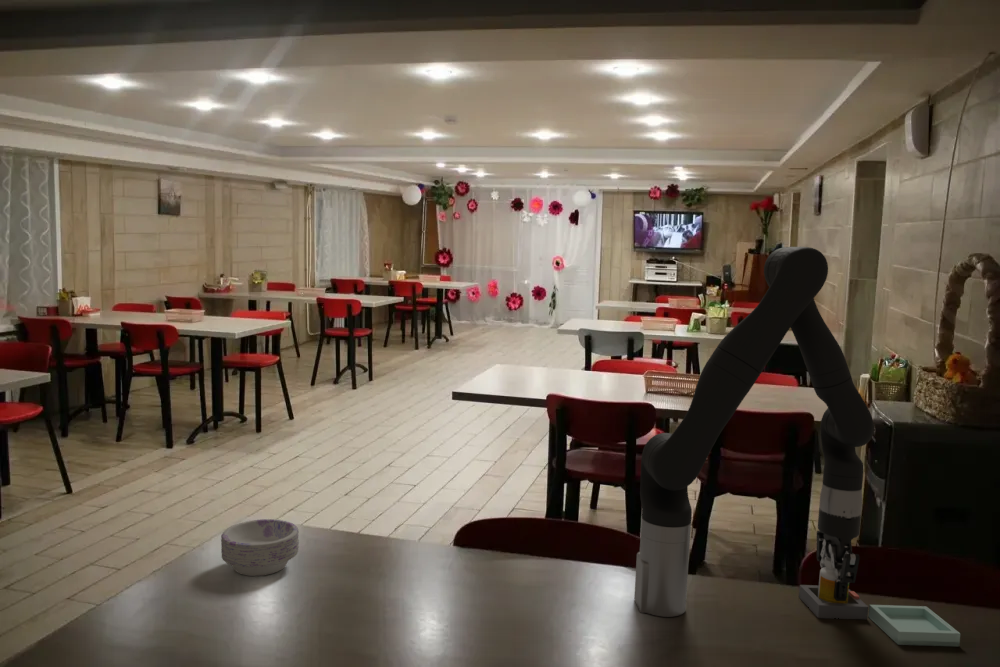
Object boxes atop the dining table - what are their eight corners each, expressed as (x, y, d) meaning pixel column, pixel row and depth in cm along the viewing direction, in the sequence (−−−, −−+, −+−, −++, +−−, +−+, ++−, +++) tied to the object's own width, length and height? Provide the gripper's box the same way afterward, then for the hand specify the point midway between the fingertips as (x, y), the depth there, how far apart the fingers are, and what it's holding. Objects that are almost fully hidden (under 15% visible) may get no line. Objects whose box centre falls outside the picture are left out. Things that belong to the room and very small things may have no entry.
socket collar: (818, 617, 151) (819, 602, 151) (798, 596, 161) (799, 582, 160) (867, 619, 151) (868, 604, 151) (845, 598, 161) (846, 583, 160)
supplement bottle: (849, 615, 153) (853, 566, 152) (820, 612, 154) (823, 563, 153) (843, 603, 158) (847, 556, 157) (814, 600, 159) (818, 553, 158)
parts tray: (897, 644, 142) (899, 631, 141) (868, 616, 153) (869, 604, 152) (959, 646, 142) (960, 633, 142) (925, 618, 153) (926, 606, 153)
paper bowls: (205, 577, 159) (205, 538, 158) (246, 550, 174) (246, 515, 173) (275, 587, 155) (276, 547, 155) (310, 559, 170) (311, 522, 170)
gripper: (806, 497, 161) (799, 578, 163) (837, 520, 147) (829, 609, 148) (842, 498, 161) (836, 579, 163) (877, 521, 147) (869, 610, 149)
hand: (833, 593), depth 156 cm, fingers closed on supplement bottle, 5 cm apart
